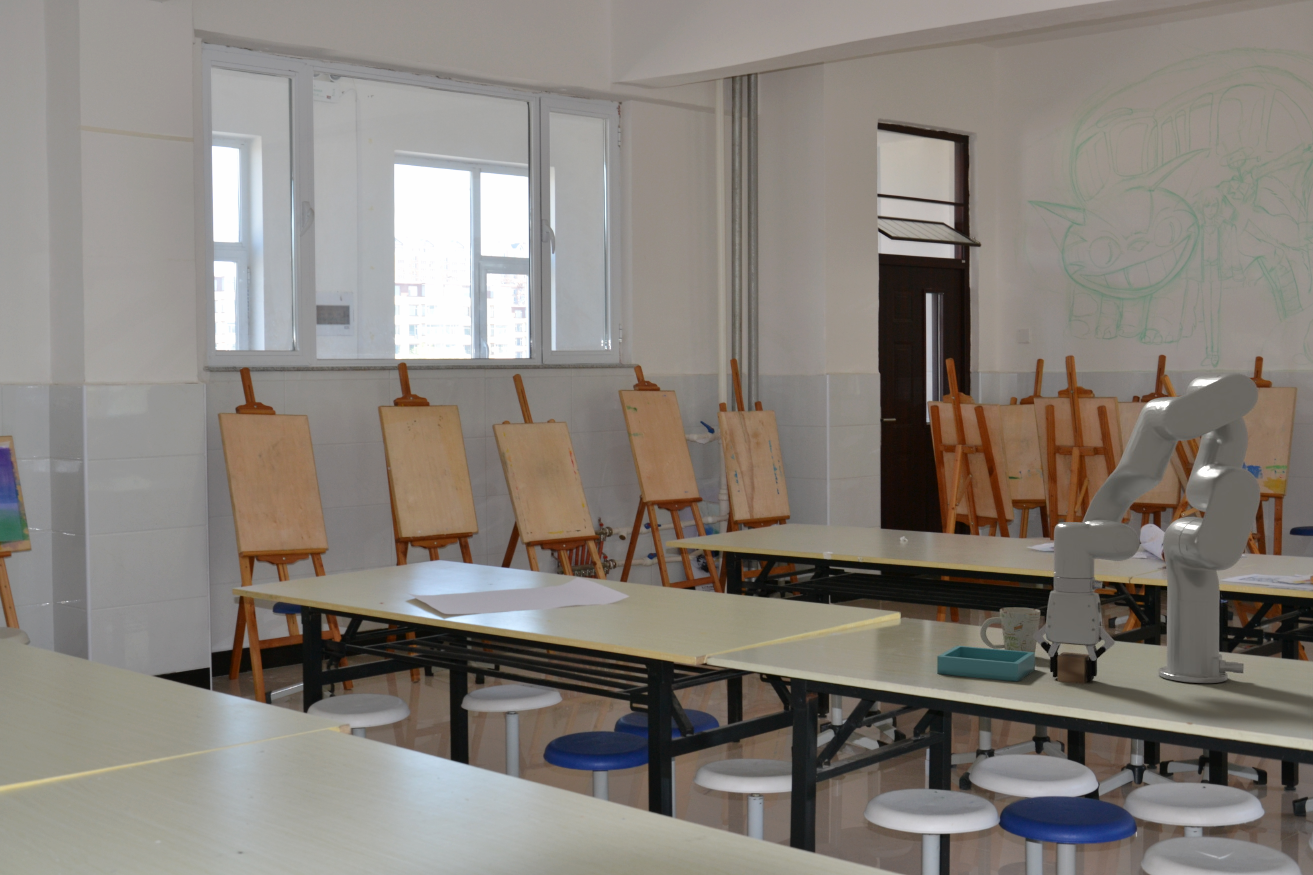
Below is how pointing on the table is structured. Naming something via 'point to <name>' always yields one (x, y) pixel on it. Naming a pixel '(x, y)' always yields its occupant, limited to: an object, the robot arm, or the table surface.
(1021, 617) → the mug
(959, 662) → the tray
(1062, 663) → the block
